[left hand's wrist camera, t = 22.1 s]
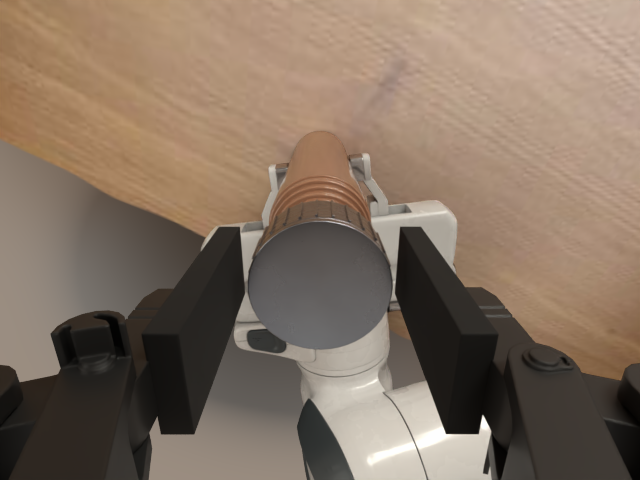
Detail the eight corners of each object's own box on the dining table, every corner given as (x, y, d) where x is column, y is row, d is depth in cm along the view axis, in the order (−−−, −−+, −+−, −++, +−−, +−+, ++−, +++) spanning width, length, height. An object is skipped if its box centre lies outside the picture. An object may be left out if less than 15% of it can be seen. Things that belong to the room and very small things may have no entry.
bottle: (294, 129, 35) (247, 207, 12) (348, 132, 35) (400, 215, 12) (293, 182, 36) (249, 336, 14) (344, 184, 36) (383, 342, 14)
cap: (376, 188, 14) (386, 208, 11) (389, 305, 15) (400, 341, 13) (243, 209, 14) (229, 232, 12) (271, 322, 16) (263, 359, 13)
